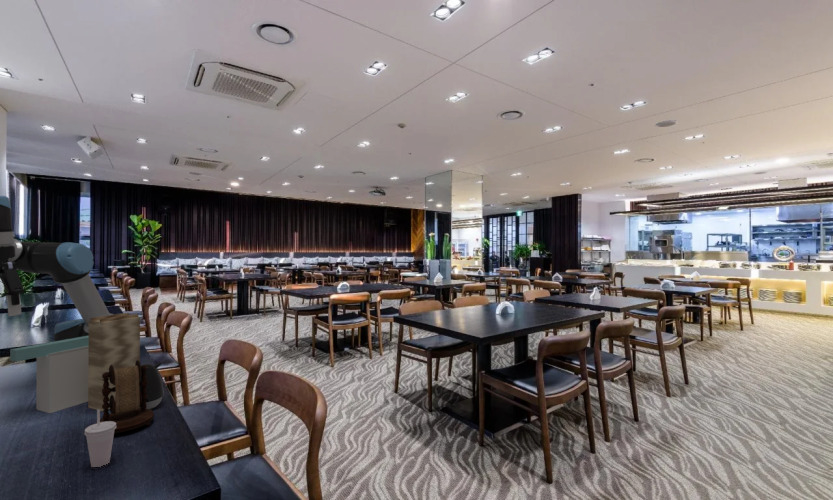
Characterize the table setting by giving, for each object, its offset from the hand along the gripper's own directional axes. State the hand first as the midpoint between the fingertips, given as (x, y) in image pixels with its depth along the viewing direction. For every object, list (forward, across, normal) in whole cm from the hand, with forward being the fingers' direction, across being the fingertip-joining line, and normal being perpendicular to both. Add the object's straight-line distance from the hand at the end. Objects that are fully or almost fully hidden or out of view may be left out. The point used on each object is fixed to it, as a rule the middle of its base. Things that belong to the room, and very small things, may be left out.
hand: (3, 312), depth 122 cm
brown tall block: (+36, -17, -20) cm, 44 cm away
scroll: (+34, -39, -10) cm, 53 cm away
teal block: (+16, -2, -11) cm, 20 cm away
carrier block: (+36, -3, -14) cm, 39 cm away
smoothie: (+32, -55, +6) cm, 64 cm away
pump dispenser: (+36, -31, -22) cm, 52 cm away
